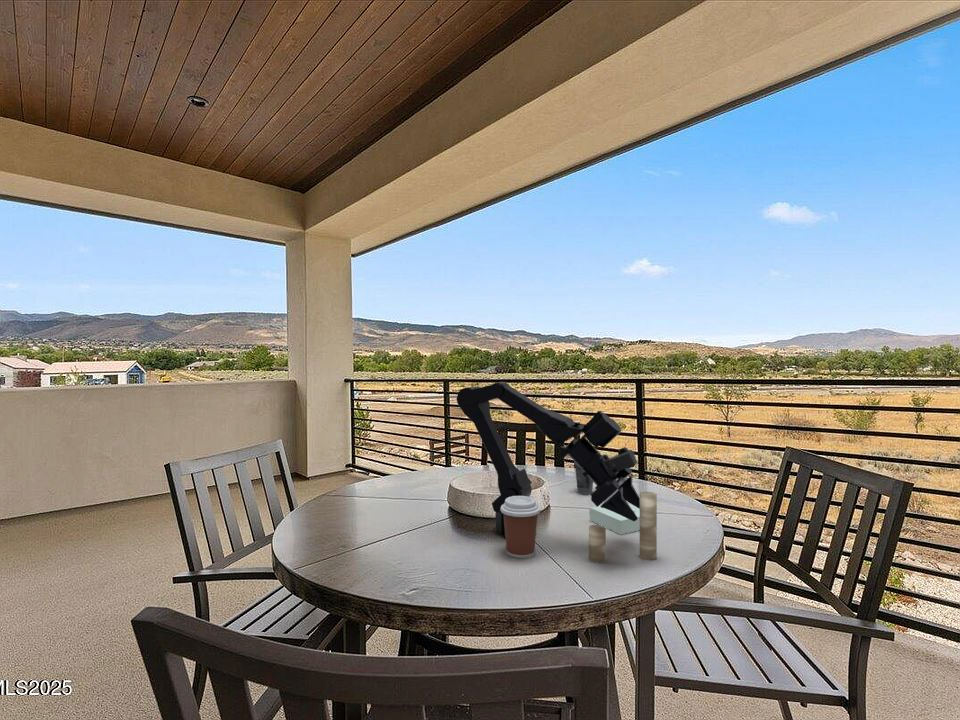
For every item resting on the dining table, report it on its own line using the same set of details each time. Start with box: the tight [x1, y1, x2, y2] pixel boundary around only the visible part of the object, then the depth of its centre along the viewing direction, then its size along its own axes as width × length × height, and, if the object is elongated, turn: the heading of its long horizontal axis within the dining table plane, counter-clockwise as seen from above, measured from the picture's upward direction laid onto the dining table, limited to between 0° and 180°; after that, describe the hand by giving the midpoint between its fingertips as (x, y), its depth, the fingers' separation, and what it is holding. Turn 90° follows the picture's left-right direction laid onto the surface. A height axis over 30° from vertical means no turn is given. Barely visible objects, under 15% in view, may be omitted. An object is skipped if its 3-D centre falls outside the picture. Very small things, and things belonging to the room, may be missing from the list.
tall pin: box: [639, 491, 658, 561], centre depth 110 cm, size 4×4×14 cm
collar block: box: [589, 503, 640, 535], centre depth 132 cm, size 12×12×4 cm
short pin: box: [588, 524, 607, 564], centre depth 109 cm, size 4×4×7 cm
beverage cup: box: [573, 460, 594, 496], centre depth 161 cm, size 7×7×20 cm
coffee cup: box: [500, 496, 541, 559], centre depth 113 cm, size 9×9×12 cm
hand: (639, 513), depth 111 cm, fingers open, 9 cm apart
